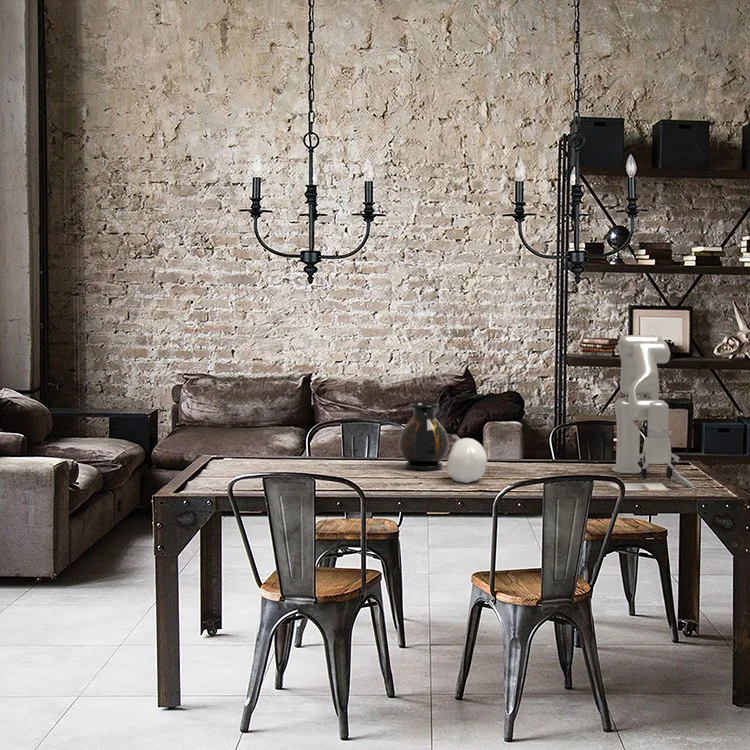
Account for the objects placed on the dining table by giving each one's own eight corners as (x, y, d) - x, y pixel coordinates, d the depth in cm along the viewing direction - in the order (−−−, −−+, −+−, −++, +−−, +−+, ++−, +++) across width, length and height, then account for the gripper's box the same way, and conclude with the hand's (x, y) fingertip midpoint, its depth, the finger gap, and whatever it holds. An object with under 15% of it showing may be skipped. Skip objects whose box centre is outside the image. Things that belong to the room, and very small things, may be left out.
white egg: (480, 466, 420) (485, 427, 406) (485, 501, 404) (491, 462, 391) (442, 466, 420) (446, 426, 406) (446, 501, 404) (450, 462, 390)
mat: (607, 485, 397) (607, 483, 396) (657, 484, 398) (657, 483, 398) (620, 492, 382) (620, 490, 382) (671, 491, 383) (671, 489, 383)
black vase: (449, 472, 424) (450, 406, 422) (398, 472, 425) (399, 406, 423) (447, 464, 446) (447, 401, 444) (398, 464, 446) (398, 401, 444)
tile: (642, 482, 386) (660, 482, 386) (642, 486, 386) (660, 486, 387) (649, 489, 378) (667, 489, 379) (649, 493, 379) (667, 493, 379)
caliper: (668, 480, 409) (668, 465, 408) (671, 480, 409) (671, 465, 409) (693, 489, 389) (693, 473, 388) (696, 489, 389) (696, 473, 389)
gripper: (675, 433, 390) (674, 476, 391) (632, 433, 389) (631, 477, 390) (683, 435, 383) (682, 480, 384) (639, 435, 381) (637, 480, 382)
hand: (656, 478), depth 387 cm, fingers open, 9 cm apart
